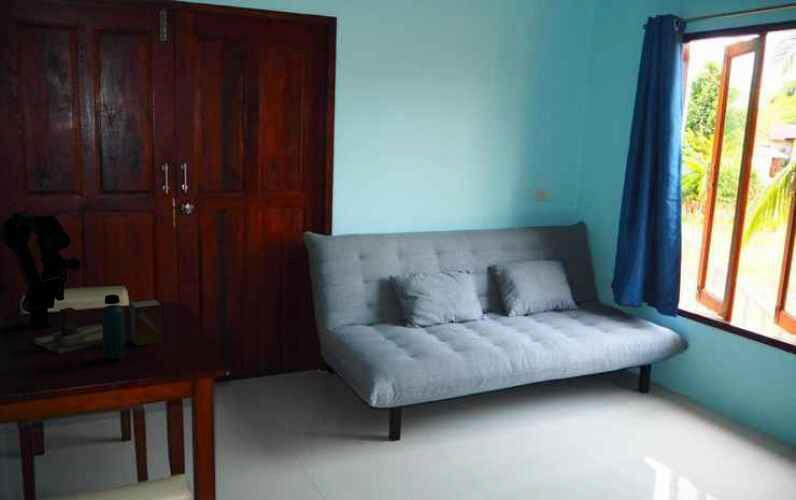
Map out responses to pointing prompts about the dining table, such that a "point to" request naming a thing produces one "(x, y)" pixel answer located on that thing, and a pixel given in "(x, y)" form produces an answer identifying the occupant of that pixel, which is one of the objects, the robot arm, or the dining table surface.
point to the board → (91, 337)
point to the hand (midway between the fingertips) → (60, 300)
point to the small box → (146, 322)
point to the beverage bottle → (113, 328)
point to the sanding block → (68, 329)
